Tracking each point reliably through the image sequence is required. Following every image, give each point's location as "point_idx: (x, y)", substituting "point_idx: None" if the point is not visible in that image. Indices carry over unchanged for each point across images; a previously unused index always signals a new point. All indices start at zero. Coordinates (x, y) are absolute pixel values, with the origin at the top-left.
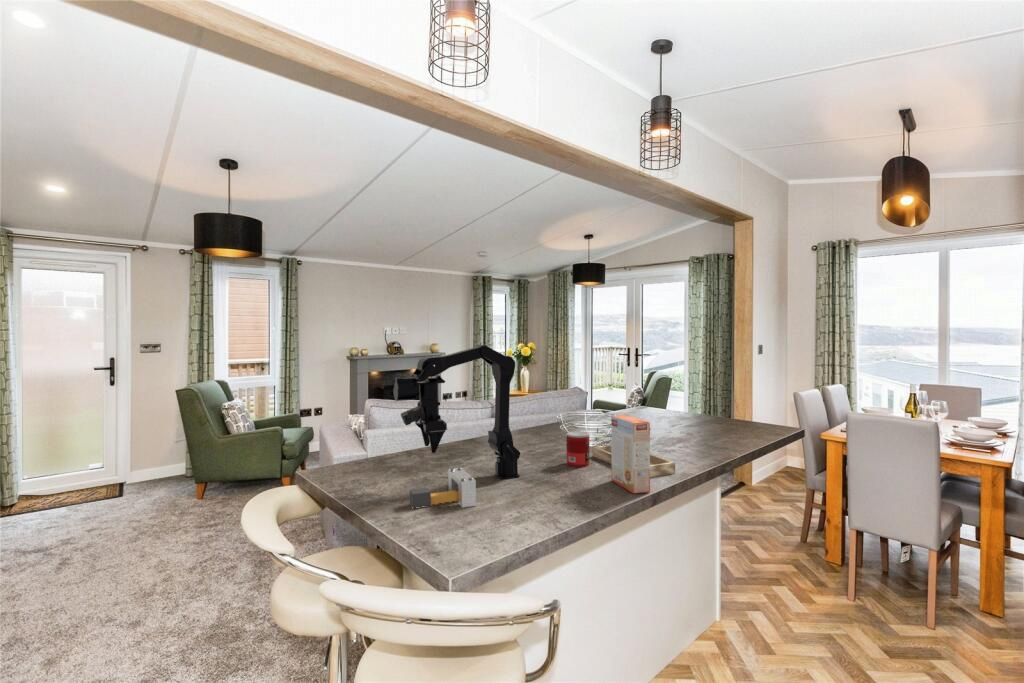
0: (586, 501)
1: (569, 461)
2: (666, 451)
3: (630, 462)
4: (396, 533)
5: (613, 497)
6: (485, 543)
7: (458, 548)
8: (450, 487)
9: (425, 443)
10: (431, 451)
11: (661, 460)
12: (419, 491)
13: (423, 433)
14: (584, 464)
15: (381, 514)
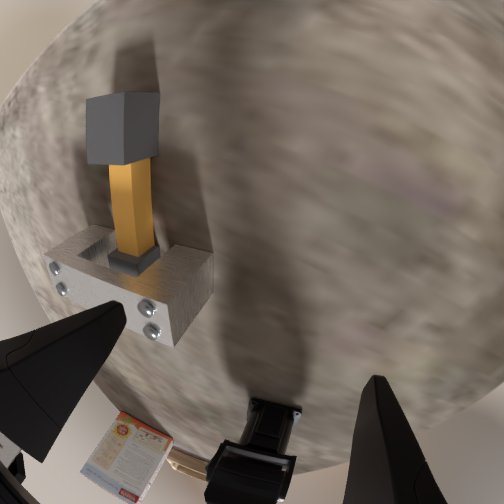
0: (105, 376)
1: None
2: None
3: (108, 439)
4: (43, 64)
5: (115, 397)
6: (9, 195)
7: (4, 157)
8: (175, 259)
9: (373, 396)
10: (111, 304)
11: (192, 474)
12: (99, 126)
13: (385, 491)
14: None
15: (127, 12)
